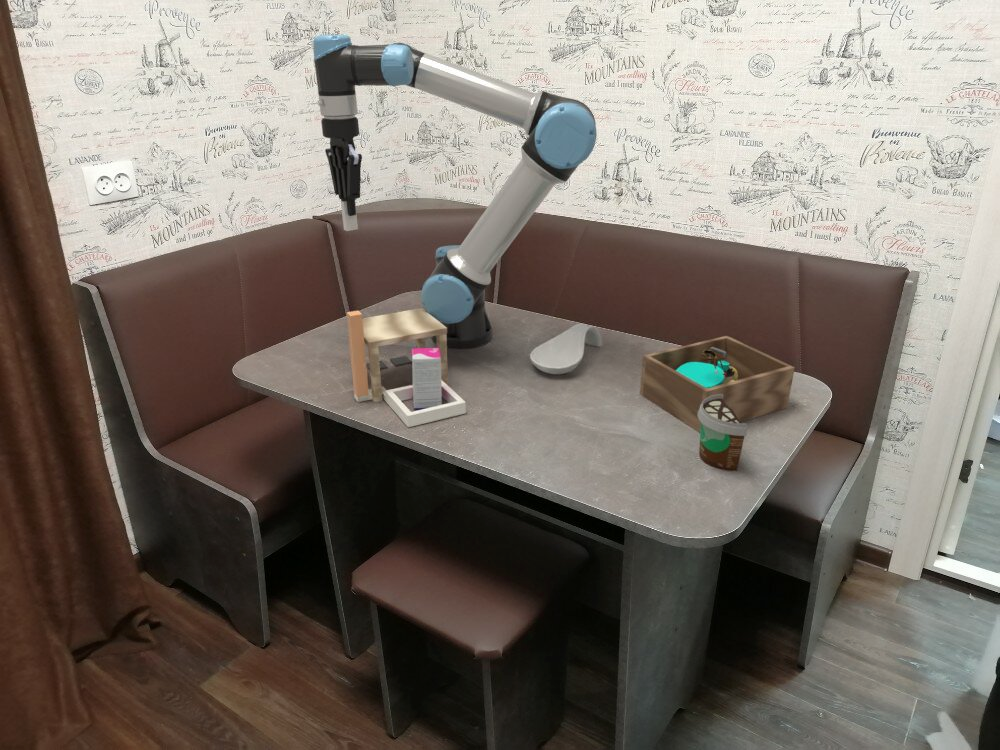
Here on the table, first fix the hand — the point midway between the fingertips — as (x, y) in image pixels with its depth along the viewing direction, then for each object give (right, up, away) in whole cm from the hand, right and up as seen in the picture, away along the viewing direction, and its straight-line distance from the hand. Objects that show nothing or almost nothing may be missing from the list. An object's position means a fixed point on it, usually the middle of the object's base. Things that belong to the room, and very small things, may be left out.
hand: (350, 229), depth 164 cm
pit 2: (+10, -29, +9) cm, 32 cm away
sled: (+14, -38, -11) cm, 42 cm away
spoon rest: (+49, -29, +10) cm, 58 cm away
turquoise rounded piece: (+76, -38, -9) cm, 86 cm away
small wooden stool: (+11, -34, -1) cm, 35 cm away
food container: (+71, -47, -29) cm, 90 cm away
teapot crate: (+77, -37, -9) cm, 86 cm away
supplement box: (+18, -38, -10) cm, 43 cm away
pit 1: (+5, -30, +6) cm, 31 cm away
